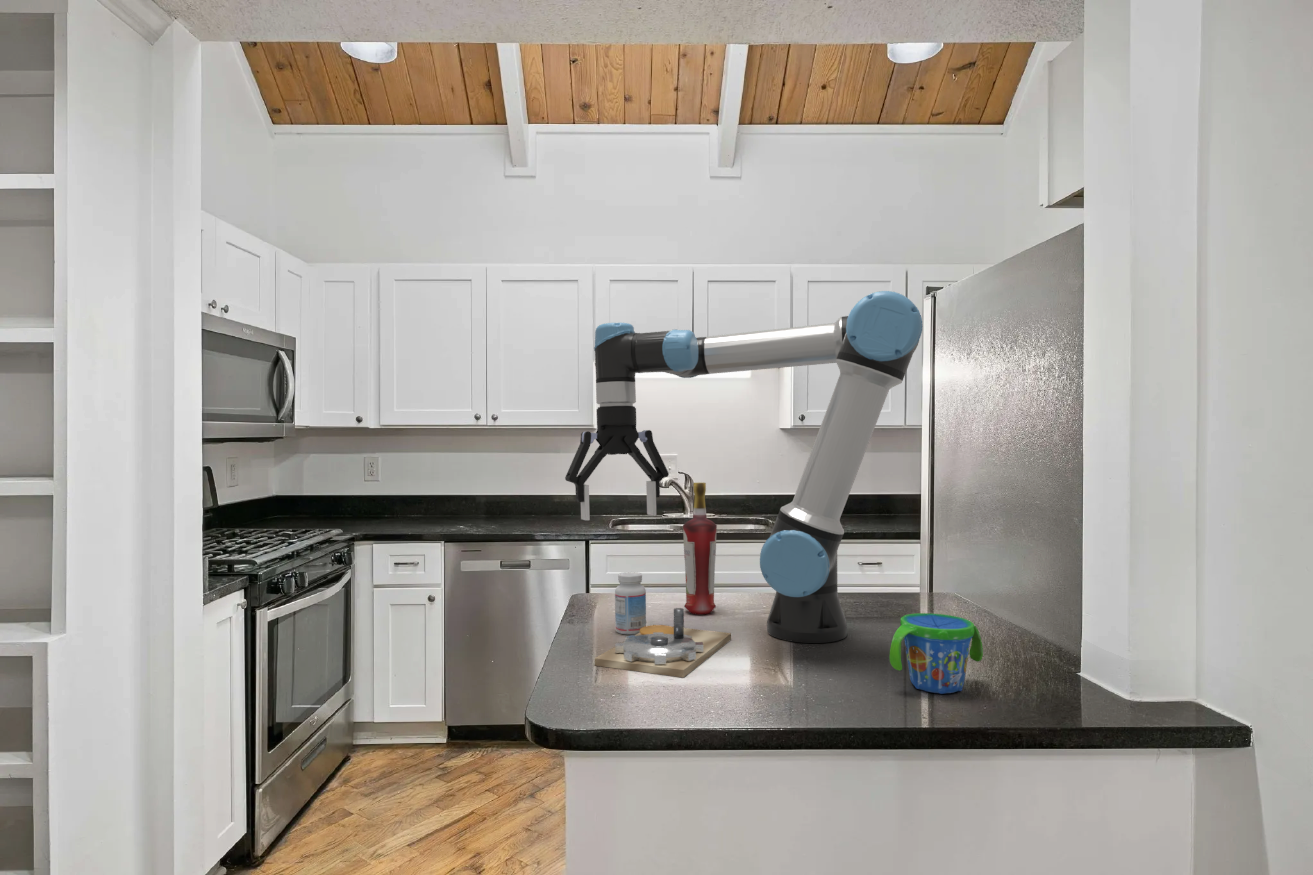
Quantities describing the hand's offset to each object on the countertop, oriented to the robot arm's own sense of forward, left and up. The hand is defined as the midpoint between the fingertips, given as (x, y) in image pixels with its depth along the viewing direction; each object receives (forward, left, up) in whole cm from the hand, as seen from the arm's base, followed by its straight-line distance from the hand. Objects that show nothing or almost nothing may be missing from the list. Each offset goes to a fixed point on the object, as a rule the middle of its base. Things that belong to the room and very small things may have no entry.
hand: (619, 517), depth 143 cm
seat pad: (-7, -2, -22) cm, 23 cm away
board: (-12, +5, -23) cm, 26 cm away
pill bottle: (0, -5, -23) cm, 23 cm away
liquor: (-7, -25, -23) cm, 34 cm away
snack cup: (-57, +6, -23) cm, 62 cm away
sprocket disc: (-13, +10, -21) cm, 27 cm away
